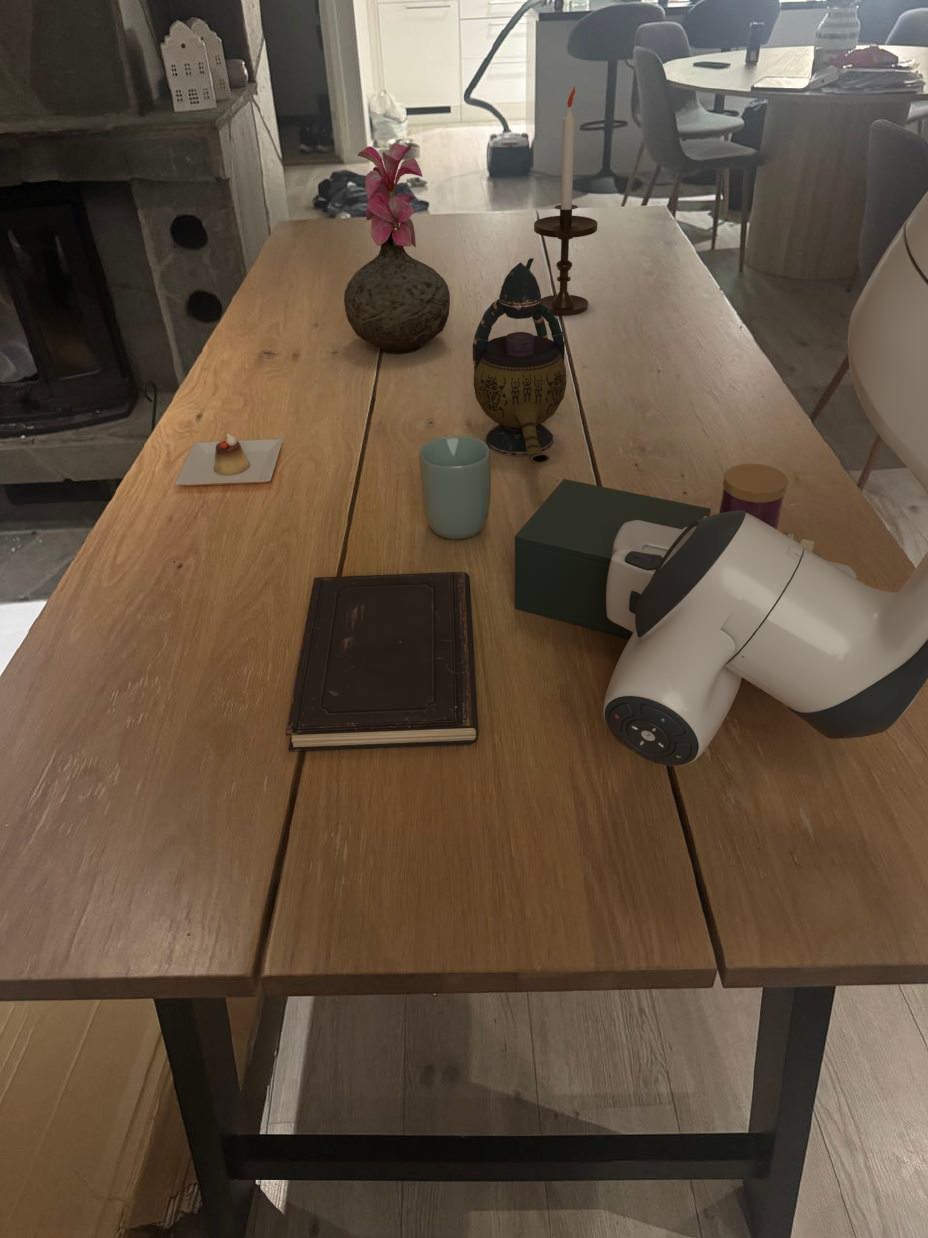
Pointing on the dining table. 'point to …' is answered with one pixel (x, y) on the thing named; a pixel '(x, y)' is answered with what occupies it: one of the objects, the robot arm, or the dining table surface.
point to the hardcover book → (386, 664)
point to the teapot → (519, 370)
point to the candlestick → (566, 226)
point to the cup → (455, 485)
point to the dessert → (230, 462)
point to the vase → (394, 267)
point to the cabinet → (582, 550)
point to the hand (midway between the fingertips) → (747, 531)
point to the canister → (754, 491)
